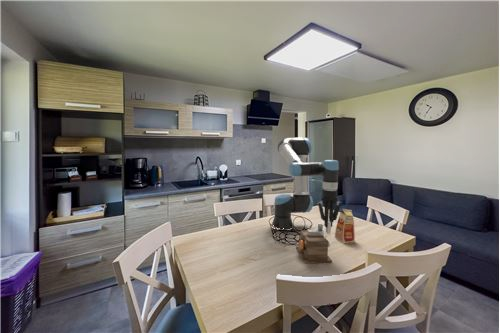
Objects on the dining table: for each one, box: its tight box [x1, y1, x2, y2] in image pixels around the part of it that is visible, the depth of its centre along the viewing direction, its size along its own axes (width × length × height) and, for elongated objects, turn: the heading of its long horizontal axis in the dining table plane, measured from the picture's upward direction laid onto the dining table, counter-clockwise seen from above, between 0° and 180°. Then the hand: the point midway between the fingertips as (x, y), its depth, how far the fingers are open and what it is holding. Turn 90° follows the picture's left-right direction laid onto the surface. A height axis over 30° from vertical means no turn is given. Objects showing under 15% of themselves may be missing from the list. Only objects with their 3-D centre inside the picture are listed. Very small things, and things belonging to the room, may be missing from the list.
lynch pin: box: [298, 239, 331, 250], centre depth 116 cm, size 5×16×5 cm, turn 94°
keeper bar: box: [306, 223, 325, 237], centre depth 116 cm, size 3×8×6 cm, turn 94°
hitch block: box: [295, 229, 333, 265], centre depth 116 cm, size 16×14×11 cm
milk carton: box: [334, 208, 356, 244], centre depth 136 cm, size 9×9×20 cm
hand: (328, 232), depth 116 cm, fingers closed
